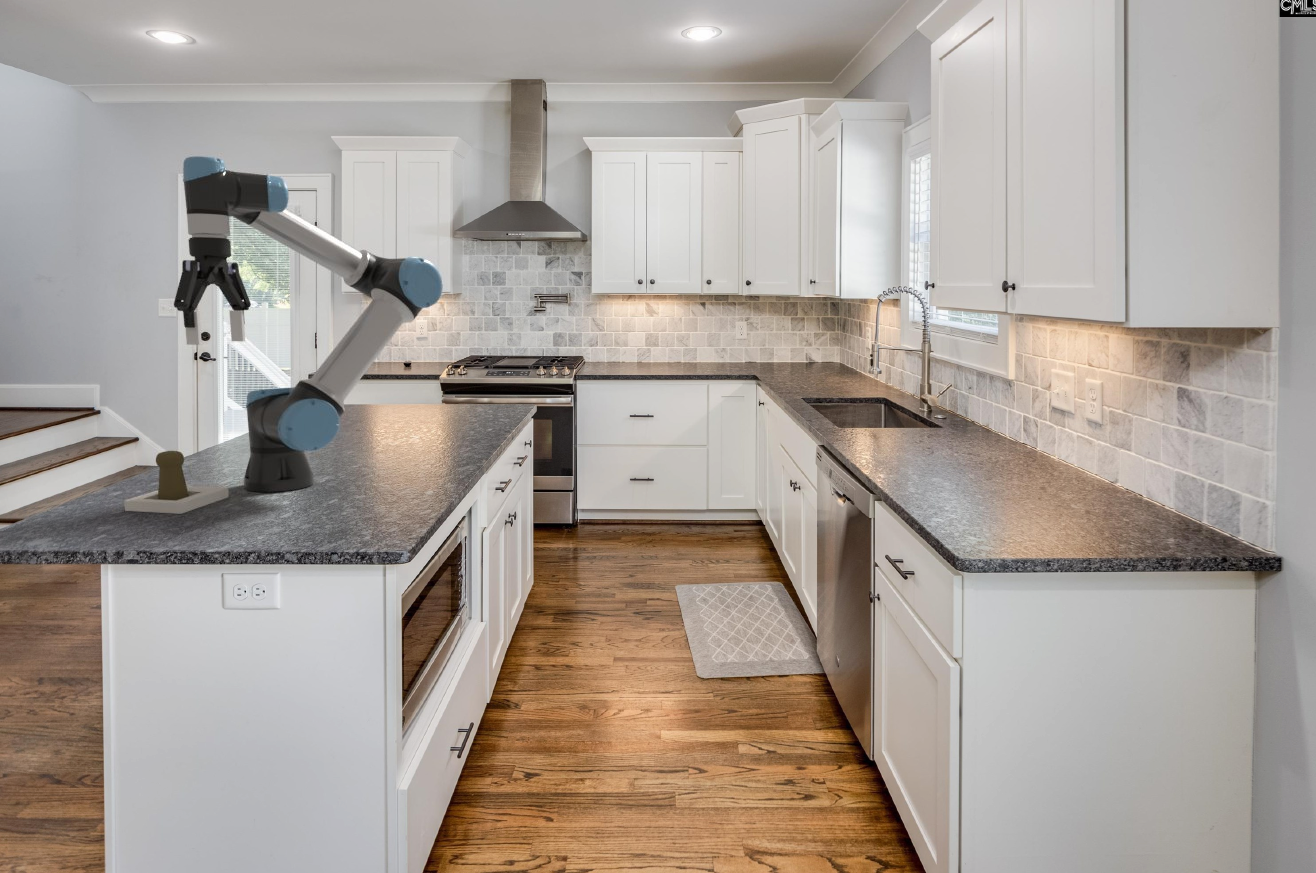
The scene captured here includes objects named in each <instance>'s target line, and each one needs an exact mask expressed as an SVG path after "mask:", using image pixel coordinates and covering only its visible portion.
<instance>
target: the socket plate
mask: <svg viewBox="0 0 1316 873" xmlns="http://www.w3.org/2000/svg"><path fill="white" fill-rule="evenodd" d="M186 486H187V490H188V494H189V497H186V498H183V499H180V500H177V501H175V500H158V489H157V490H154V491H152V492H148V493H143V494H141V495H138V496H135V497H134V496H133V497H131V498H128V499H124V500H123V503H124V505H123V506H124V512H139V513H140V512H141V513H142V512H144V513H156V514H157V513H159V514H160V513H161V514H185V513H188V512H190V511H194V510H196V509H200V508H203V507H204V506H207V505H211V504H214V503H217V502H219V501H221V500H225V499H227V498H229V487H228V486H227V487H224V486H203V485H186Z"/></svg>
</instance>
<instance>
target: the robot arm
mask: <svg viewBox="0 0 1316 873" xmlns="http://www.w3.org/2000/svg"><path fill="white" fill-rule="evenodd" d="M182 174H183V175H182V177H183V178H182V182H183V186H184V188H183V189H184V196H185V206H186V218H187V222H186V223H187V234H188V235H190V236H191V237H189V239H188V249H189V250H188V251H189V252H188V253H189V255H190V256H191V257H192V258H194V259H191V260H190V259H189V260H188V259H185V260H184V259H183V260H182V264H181V265H182V266H181V268H182V270H181V271H182V272H181V275H180V279H179V283H178V286H177V289H176V293H175V297H174V302H173V307H174V308H176V310H177V311H178V312H182V314H183V315H182V316H183V326H184V328H185V338H186V340H185V341H186V345H188V346H190V345H193V346H194V345H195V346H196V345H198V346H199V345H202V344H203V343H202V332H201V318H200V311H196V310H197V308H198V306H199V304H200V302H201V300H202V298H203V295H204V293H205V292H206V290H207V288H208V287H209V286H210V285H215V286H216V287H218V288H219V290H220V291H221V293H222V295H223V296H224V298H225V300H226V301H227V302H228V304H229V306H230V308H231V310H229V320H230V321H229V322H230V325H229V326H230V337H231V338H230V339H231V340H230V341H231V342H246V332H245V311H249V309H250V307H251V305H252V303H251V301H250V298H249V296H248V293H247V290H246V287H245V285H244V282H243V279H242V277H241V274H240V268H239V263H237V262H228V258H229V259H230V257H232V248H231V247H232V245H231V240H230V238H228V237H229V236H231V230H230V217H233V218H235V219H236V220H237V221H240V222H242V223H244V224H246V225H248V226H249V227H251V228H253V229H255V230H257V231H258V232H260V233H262V234H263V235H265V236H267V237H269V238H271V239H273V240H275V241H276V242H279V243H281V245H284V246H286V247H287V248H289V249H291V250H292V251H295V252H296V253H298V254H300V255H302V256H303V257H305V258H307V259H309V260H310V261H312V262H314V263H316V264H318V265H319V266H321V267H323V268H325V269H327V270H328V271H331V272H332V273H334V274H336V275H338V276H339V277H341V278H343V282H344V284H345V285H347V286H349V287H350V288H351V289H354V290H355V291H358V292H359V293H361V294H363V295H365V296H366V297H368V298H370V299H371V302H369V303H368V305H367V307H366V308H365V310H363V312H362V313H361V314H360V315H359V316H358V318H357V320H356V321H355V322H354V323H353V325H351V327H350V328H349V330H348V331H347V332H346V333H345V334H344V336H343V337H342V338H341V340H339V342H338V343H337V344H336V346H335V347H334V348H333V350H332V351H331V352H330V353H329V355H328V356H327V358H326V359H325V360H324V361H323V363H321V365H320V366H319V367H318V369H317V370H316V371H315V373H313V375H312V376H311V377H310V378H308V379H300V380H299V381H298V382H297V384H295V386H294V387H292V386H291V387H278V388H268V389H257V390H250V391H249V392H248V393H247V395H246V404H245V406H246V407H245V408H246V415H247V416H246V417H247V427H248V428H247V429H248V440H249V441H248V442H249V454H250V455H249V460H248V462H247V465H246V466H247V467H246V470H245V473H244V476H243V484H244V485H243V487H244V489H245V490H247V491H250V492H258V493H259V492H261V493H273V492H274V493H276V492H287V491H293V490H299V489H304V488H307V487H310V486H313V485H314V484H315V479H314V478H315V477H314V476H315V475H314V472H313V470H312V468H311V465H310V462H309V460H308V458H307V455H306V452H313V451H314V452H315V451H318V450H322V449H324V448H325V447H327V446H328V445H329V444H331V443H332V442H333V441H334V439H335V438H336V437H337V436H338V433H339V430H340V425H341V424H340V418H341V416H342V415H343V414H344V412H345V411H346V409H345V403H344V402H345V400H346V399H347V397H348V395H350V394H351V392H352V391H353V389H354V388H355V387H356V386H357V385H358V383H359V381H360V380H361V378H362V377H363V376H364V375H365V374H366V372H367V371H368V369H369V368H370V367H371V365H372V364H373V363H374V362H375V360H376V359H377V358H378V356H380V354H381V352H383V350H384V348H386V346H387V345H388V343H389V342H390V341H391V340H392V338H393V337H394V336H395V335H396V333H397V332H398V331H399V329H400V328H401V327H402V325H403V324H406V323H412V322H413V321H414V320H415V319H416V318H417V316H419V313H421V311H422V310H423V309H424V308H425V309H426V308H427V309H428V308H430V307H432V306H434V305H435V304H437V303H438V301H439V300H440V299H441V296H442V293H443V286H444V285H443V281H442V279H443V278H442V275H441V273H440V271H439V269H438V268H437V266H436V265H435V264H434V263H433V262H431V261H429V259H426V258H423V257H417V256H410V257H406V258H405V257H404V258H401V257H400V258H386V257H381V256H377V255H374V254H373V253H371V252H369V251H368V250H366V249H361V250H358V249H356V248H354V247H352V246H351V245H350V244H348V243H346V242H344V241H342V240H341V239H339V238H337V237H336V236H334V235H332V234H330V233H329V232H327V231H325V230H323V229H322V228H320V227H318V226H316V224H313V223H312V222H310V221H308V220H307V219H305V218H303V217H302V216H301V215H298V214H297V213H295V212H293V211H291V210H289V209H288V208H287V207H288V204H289V199H290V198H289V196H290V195H289V194H290V193H289V187H288V185H287V182H286V181H285V179H284V178H282V177H281V176H275V175H270V174H263V173H261V174H260V173H248V172H241V171H240V172H239V171H233V170H228V169H227V166H226V163H225V161H224V160H223V159H221V158H218V157H216V158H215V157H213V156H212V157H211V156H200V155H197V156H196V155H195V156H193V155H192V156H188V157H185V159H184V161H183V167H182ZM305 451H306V452H305Z"/></svg>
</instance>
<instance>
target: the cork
mask: <svg viewBox="0 0 1316 873" xmlns="http://www.w3.org/2000/svg"><path fill="white" fill-rule="evenodd" d="M184 462H185V457H184V454H183V452H181V451H178V450H166V451H162V452H159V453H157V455H156V457H155V463H156V465H157V466H158V468H159V470H158V472H159V475H158V488H157V490H158V500H175V501H177V500H180V499H183V498H186V497H189V494H188V490H187V486H188V485H187V483H186V479H185V475H184V470H183V464H184Z"/></svg>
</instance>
